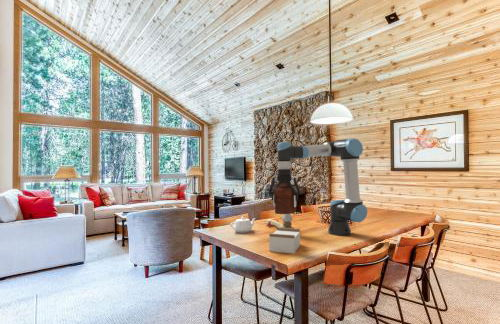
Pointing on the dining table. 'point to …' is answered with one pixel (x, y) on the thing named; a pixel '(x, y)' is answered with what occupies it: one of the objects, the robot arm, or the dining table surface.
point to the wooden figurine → (284, 199)
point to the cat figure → (273, 223)
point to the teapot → (242, 225)
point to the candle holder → (287, 221)
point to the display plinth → (284, 240)
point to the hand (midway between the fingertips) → (284, 206)
